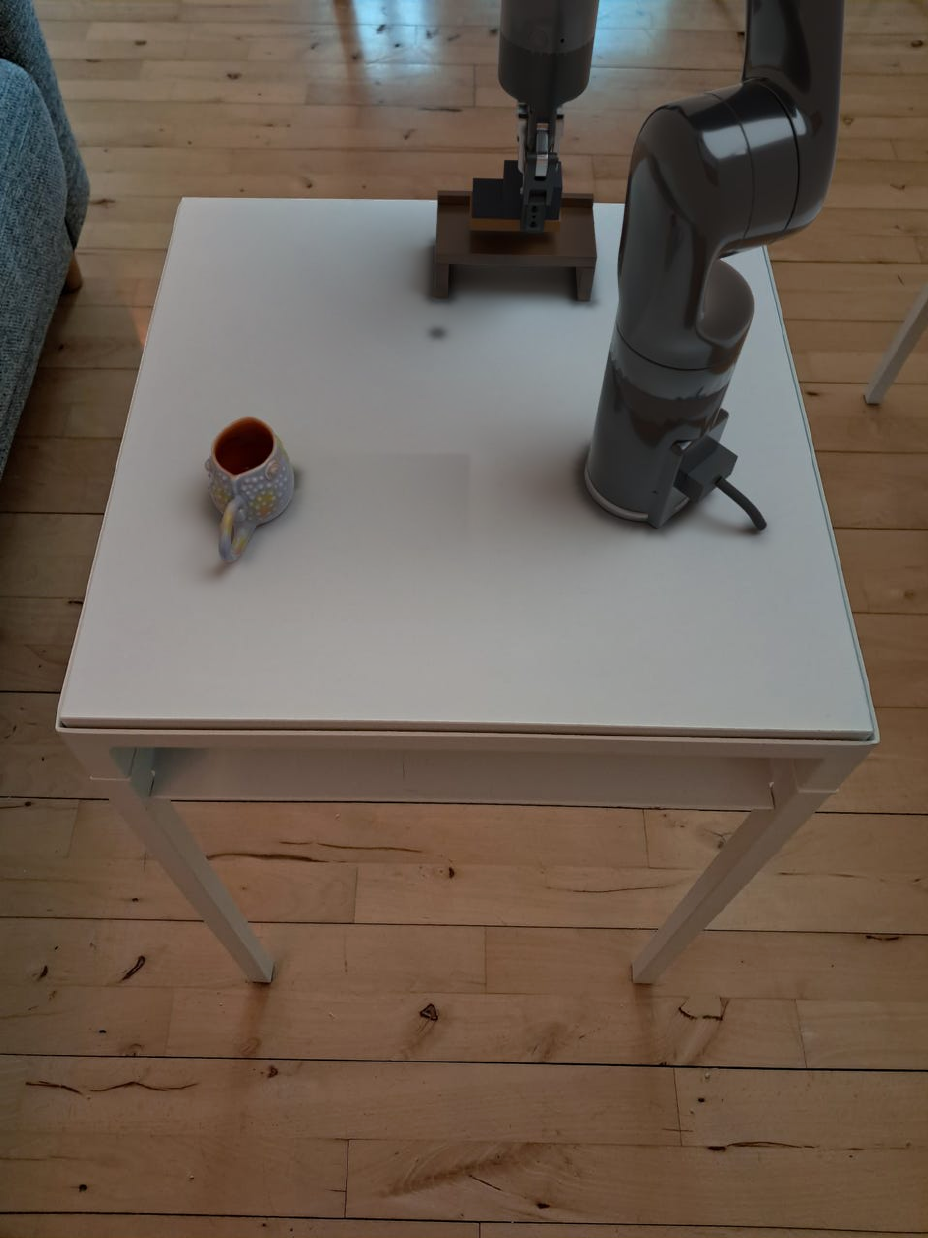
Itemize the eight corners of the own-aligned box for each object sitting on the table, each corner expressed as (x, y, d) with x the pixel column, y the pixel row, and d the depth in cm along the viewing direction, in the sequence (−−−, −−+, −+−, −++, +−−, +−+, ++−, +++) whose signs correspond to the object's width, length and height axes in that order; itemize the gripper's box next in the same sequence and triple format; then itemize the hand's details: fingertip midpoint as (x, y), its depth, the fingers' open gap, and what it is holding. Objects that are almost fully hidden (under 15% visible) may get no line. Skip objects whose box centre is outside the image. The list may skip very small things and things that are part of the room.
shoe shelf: (586, 247, 96) (594, 192, 91) (590, 300, 92) (598, 247, 87) (437, 244, 96) (437, 189, 91) (435, 297, 92) (434, 244, 87)
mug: (229, 459, 82) (213, 405, 76) (306, 470, 81) (295, 417, 75) (186, 573, 76) (164, 524, 70) (268, 586, 75) (254, 537, 69)
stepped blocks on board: (558, 204, 89) (563, 159, 85) (559, 232, 87) (565, 187, 83) (469, 202, 89) (471, 157, 85) (469, 230, 87) (470, 185, 83)
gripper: (601, 75, 70) (574, 266, 85) (591, -25, 77) (567, 168, 92) (500, 72, 70) (491, 264, 85) (499, -27, 77) (491, 166, 92)
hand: (531, 213), depth 88 cm, fingers closed on stepped blocks on board, 4 cm apart
